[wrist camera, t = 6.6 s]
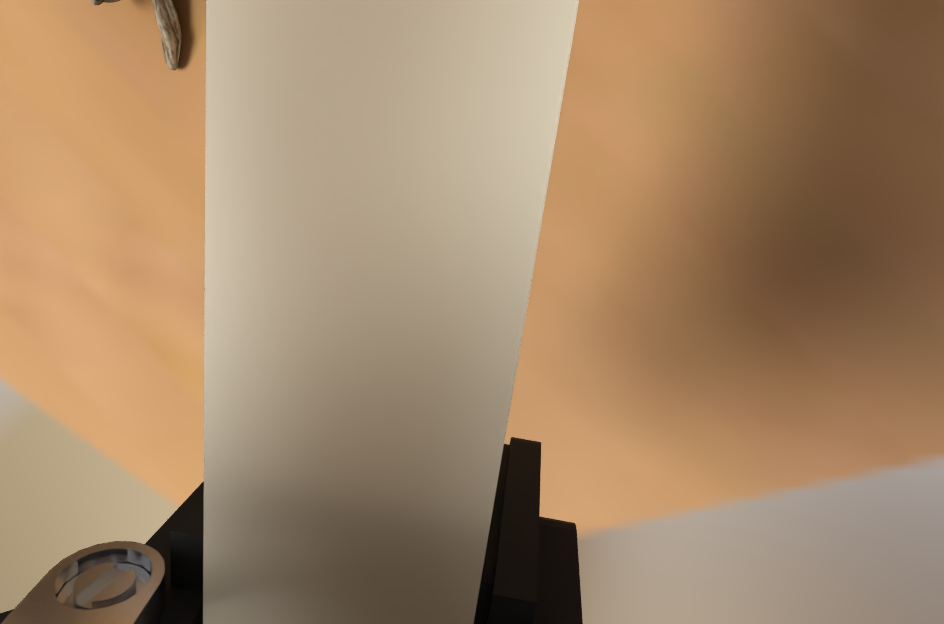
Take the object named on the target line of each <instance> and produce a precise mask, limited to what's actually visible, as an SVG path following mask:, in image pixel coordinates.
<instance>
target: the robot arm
mask: <svg viewBox="0 0 944 624" xmlns="http://www.w3.org/2000/svg"><path fill="white" fill-rule="evenodd" d="M540 467H541V442H536V441H530V440H525V439H519V438H514V437H511V441H510V445H507V444H504V446H503V452H502V458H501V464H500V470H499V476H498V482H497V488H496V493H495V499H494V505H493V511H492V517H491V523H490V529H489V535H488V541H487V547H486V552H485V558H484V564H483V570H482V576H481V582H480V588H479V594H478V600H477V606H476V612H475V617H474V623H473V624H583V623H582V608H581V592H580V577H579V562H578V545H577V530H576V525H575V523H571V522H566V521H560V520H555V519H550V518H544V517H539V506H540ZM203 534H204V481H203V483H202V484H201V485H200V486H199V487H198V488H197V489H196V490H195V491H194V492H193V493H192V494H191V495H190V496H189V497H188V499H187V500H186V501H185V502H184V503H183V504H182V505H181V506H180V507H179V508H178V509H177V510H176V511H175V512H174V514H173V515H172V516H171V517H170V518H169V519H168V520H167V521H166V522H165V523H164V524H163V526H161V528H160V529H159V530H158V531H157V532H156V533H155V534H154V535H153V536H152V537H151V538H150V539H149V540H148V541H147V542H146V544H141V543H137V542H126V541H124V542H123V541H115V542H108V543H102V544H97V545H94V546H91V547H88V548H85V549H82V550H79V551H77V552H76V553H74V554H72V555H70V556H68V557H66V558H65V559H63V560H61V561H60V562H59V563H58V564H57V565H56V566H54V567H53V568H52V569H51V570H50V571H49V572H48V573H47V574H46V575H45V576H44V577H43V578H42V579H41V580H40V582H39V583H38V584H37V585H36V586H35V587H34V588H33V589H32V590H31V591H30V592H29V593H28V595H27V596H26V597H25V598H24V599H23V600H22V601H21V602H20V603H19V604H18V605H17V607H16V608H15V609H13V610H10V611H7V612H4V613H0V624H203Z"/></svg>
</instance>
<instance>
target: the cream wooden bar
mask: <svg viewBox="0 0 944 624" xmlns="http://www.w3.org/2000/svg"><path fill="white" fill-rule="evenodd" d="M578 3H579V0H206V159H205V346H204V534H203V624H473V623H474V617H475V612H476V606H477V600H478V594H479V588H480V582H481V576H482V570H483V564H484V558H485V552H486V547H487V541H488V535H489V529H490V523H491V517H492V511H493V505H494V499H495V493H496V488H497V482H498V476H499V470H500V464H501V458H502V452H503V446H504V440H505V434H506V428H507V423H508V417H509V411H510V405H511V399H512V393H513V387H514V381H515V375H516V369H517V364H518V358H519V352H520V346H521V340H522V334H523V328H524V322H525V316H526V310H527V304H528V299H529V293H530V287H531V281H532V275H533V269H534V263H535V257H536V251H537V245H538V240H539V234H540V228H541V222H542V216H543V210H544V204H545V198H546V192H547V186H548V180H549V175H550V169H551V163H552V157H553V151H554V145H555V139H556V133H557V127H558V121H559V116H560V110H561V104H562V98H563V92H564V86H565V80H566V74H567V68H568V62H569V56H570V51H571V45H572V39H573V33H574V27H575V21H576V15H577V9H578Z"/></svg>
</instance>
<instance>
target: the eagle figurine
mask: <svg viewBox="0 0 944 624" xmlns="http://www.w3.org/2000/svg"><path fill="white" fill-rule="evenodd" d="M117 1H120V0H92V3H93V4H94V5H100V4H101V3H103V2H108V3H110V2H117ZM151 2H152V5H153V8H154V12H155V17H156V21H157V25H158V28H159V31H160V33H161V35H162V46H163V53H164V58H165V61H166V64H167V66H168V68H169V69H170V70H176V69H177V68H178V62H179V56H180V47H181V38H182V35H181V27H180V23H179V20H178V15H177V12H176V9H175V7H174V4H173V1H172V0H151Z"/></svg>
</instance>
